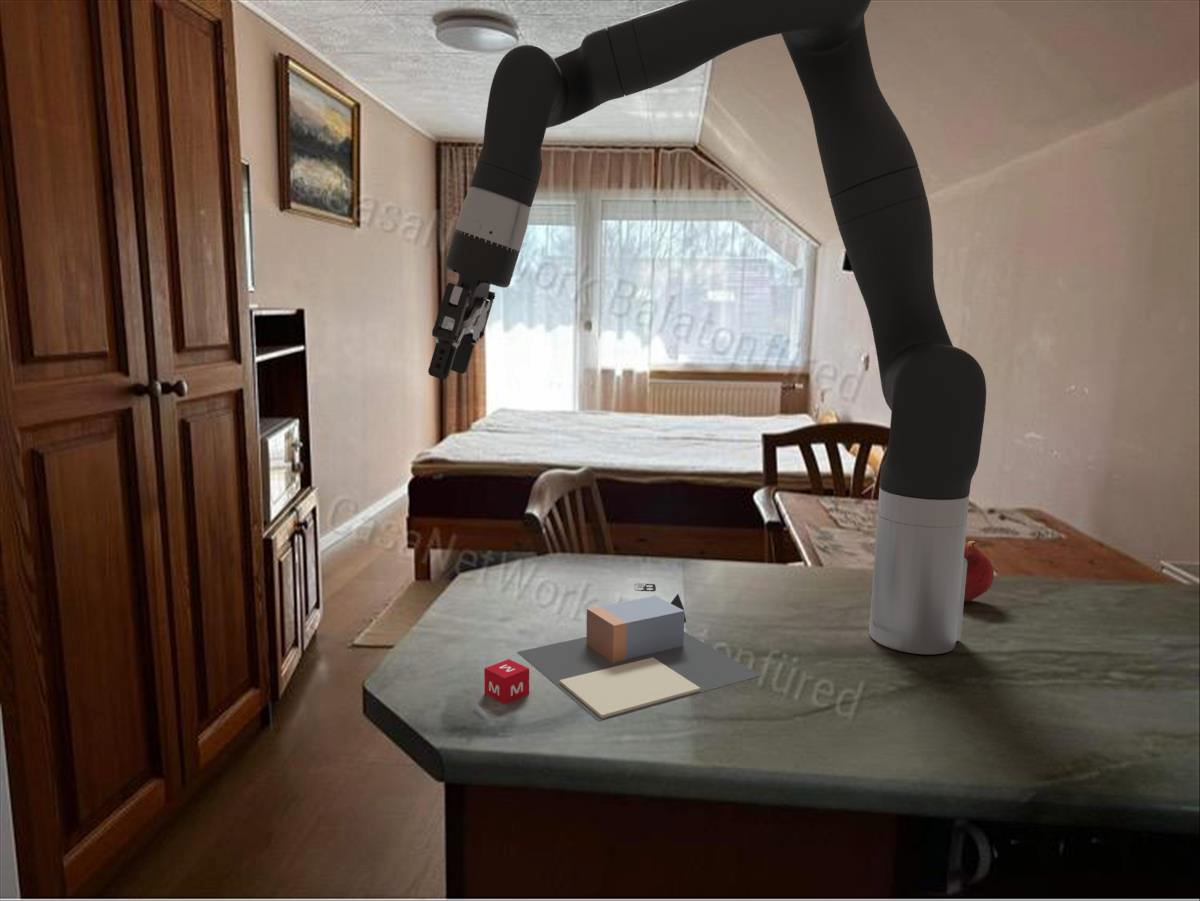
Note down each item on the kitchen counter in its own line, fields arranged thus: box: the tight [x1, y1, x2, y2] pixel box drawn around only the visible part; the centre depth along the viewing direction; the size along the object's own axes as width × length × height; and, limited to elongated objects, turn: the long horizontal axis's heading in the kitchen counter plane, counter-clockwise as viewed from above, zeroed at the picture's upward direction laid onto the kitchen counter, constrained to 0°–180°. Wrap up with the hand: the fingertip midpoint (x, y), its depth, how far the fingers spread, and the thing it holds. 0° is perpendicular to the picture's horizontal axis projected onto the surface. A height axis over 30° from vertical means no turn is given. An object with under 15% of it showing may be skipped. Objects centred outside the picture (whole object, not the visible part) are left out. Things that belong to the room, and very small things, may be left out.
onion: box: [964, 540, 995, 602], centre depth 104 cm, size 6×6×8 cm
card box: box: [585, 595, 685, 663], centre depth 88 cm, size 9×6×4 cm, turn 121°
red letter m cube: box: [483, 658, 530, 705], centre depth 76 cm, size 3×3×3 cm
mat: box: [516, 631, 763, 722], centre depth 83 cm, size 19×17×1 cm
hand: (447, 374), depth 94 cm, fingers open, 8 cm apart
